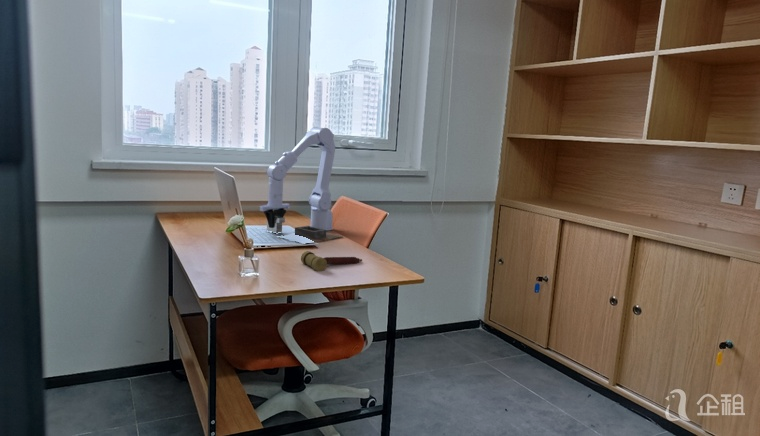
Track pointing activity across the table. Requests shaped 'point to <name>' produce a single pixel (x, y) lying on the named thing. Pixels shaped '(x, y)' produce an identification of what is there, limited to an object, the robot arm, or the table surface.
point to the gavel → (326, 261)
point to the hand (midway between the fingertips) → (274, 227)
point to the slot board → (315, 234)
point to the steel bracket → (277, 224)
